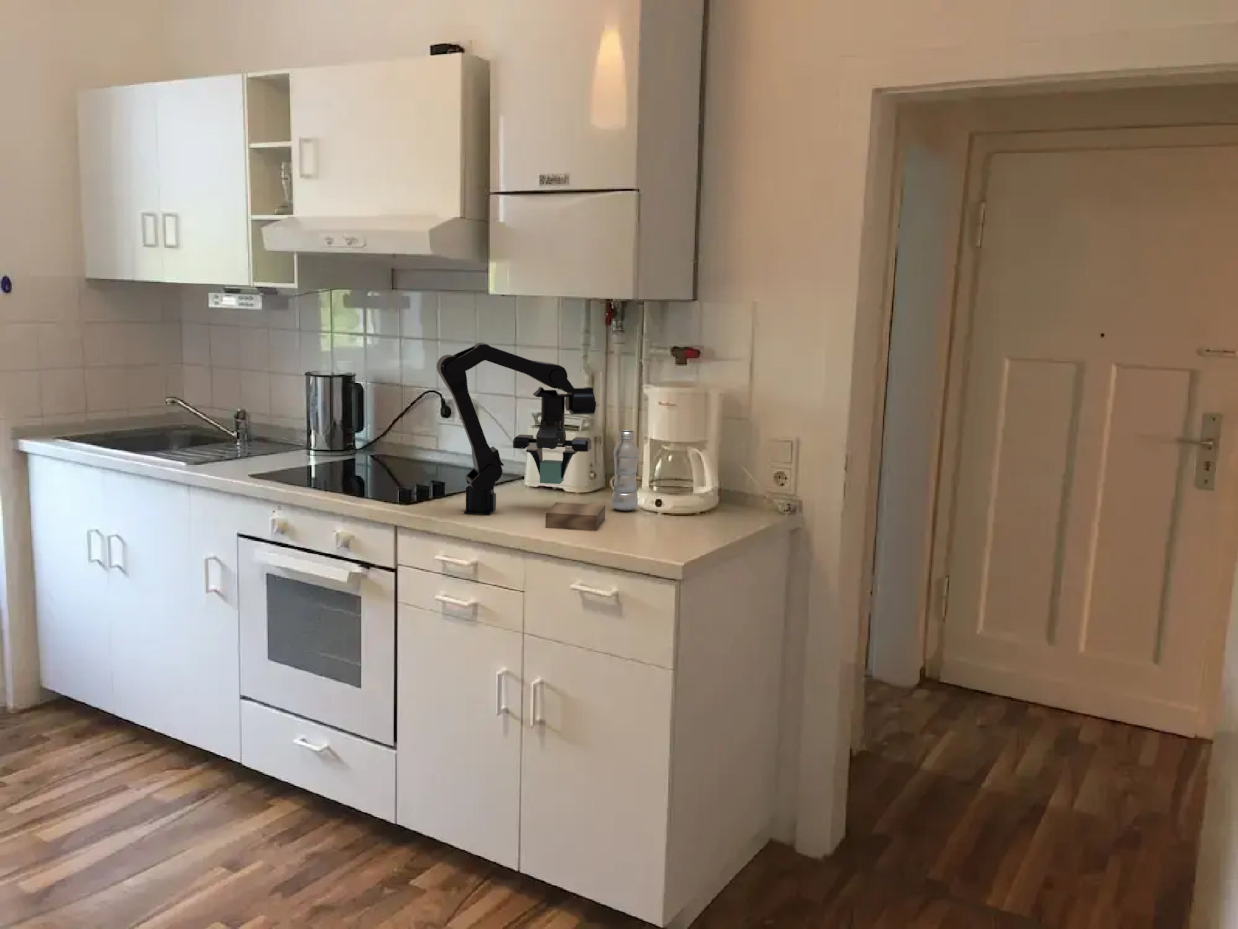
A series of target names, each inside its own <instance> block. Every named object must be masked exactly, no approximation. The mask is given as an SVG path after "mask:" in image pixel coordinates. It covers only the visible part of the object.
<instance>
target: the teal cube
mask: <svg viewBox="0 0 1238 929" xmlns="http://www.w3.org/2000/svg"><path fill="white" fill-rule="evenodd" d="M562 461H563V460H553V459H543V461H542V462H541V463H540V475H539V483H540V484H554V485H561V484H562V483H563V481H564V480H565V477H564V478H561V470H562Z"/></svg>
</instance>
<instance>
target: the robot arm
mask: <svg viewBox="0 0 1238 929" xmlns="http://www.w3.org/2000/svg"><path fill="white" fill-rule="evenodd" d="M484 361H485V362H486V361H487V362H488V363H492V364H496V365H498V366H501V367H504V368H507V369H510V370H513V371H515V372H519V373H521V374H525V375H527V376H529V377H530V378H532V379H533V380H535V381H537V382H539V383H541V384H542V385H545V386H547V387H550V388H552V389H544V387H542V386H539V387H538V388H537V390H535V391H534V392H533V393H532V394H533V396H534V397H535V398H541V403H540V404H541V407H540V408H541V409H540V410H541V411H540V412H541V413H540V414H541V415H540V416H541V418H540V423H539V424H540V425H539V429H538V431H537V433H536V435H535V437H534V435H533V434H518V435H517V436H515V437H514V438H513V440H512V448H513V449H519V450H522V449H523V450H525V449H526V450H525V452H526V453H529V454H530V455H531V456H532V458H533V461H534V463H535V465H536V468H537V472H538V474H539V476H540V463H541V462H542V461H543V460H544V459H543V456H544V455H543V449H548V450H555V449H557V448H564V451H563V452H562V460H561V461H562V470H561V478H564V479H565V475H566V473H567V470H568V466H569V464H570V461H571V460H572V457H573V455H576V454H577V453H578V452H580V453H581V452H582V453H583V452H584V453H586V452H589V451H591V449H592V439H590V438H591V437H580V436H578V437H577V436H576V437H574V438H572V439H567V433H566V429H565V420H566V419H565V413H566V412H568V413H569V414H570V415H572V416H573V415H576V416H577V415H580V416H581V415H595V413H596V409H597V408H596V407H597V402H596V397H595V394H594V387H591V386H585V387H574V386H573V384H572V383H571V382H570V380H569V379H568V373H567V370H566V368H565V367H564V366H562V365H560V364H556V363H553V362H552V363H551V362H546V361H539V360H533V359H532V360H531V359H528V358H525V357H523V356H520V355H517V354H514V353H511V352H508V351H505V350H502V349H499V348H496V347H493V346H491V345H489V343H488V344H487V343H484V342H478V343H476V344H475V345H473V346H471V347H469V348H467V349H464V350H461V351H459V352H456V353H454V354H444V355H442V356H440V358H439V359H438V360H437V363H436V371H437V373H438V374H439V377H440V379H441V380H442V381H443V383H444V384H445V387H446V388H447V390H448V391H449V393H450V394H451V396H452V399H453V402H454V404H455V406H456V410H457V413H458V415H459V418H460V420H461V423H462V425H463V428H464V432H465V433H466V436H467V439H468V442H469V445H470V447H471V457H472V464H473V468H472V469H471V470H470V471H469V472H468V473H467V474H466V475H465V477H464V478H465V481H466V484H467V485H468V486H466V487H465V510H464V511H463V514H469V515H486V516H489V515H491V514H493V513H494V512H495V511H496V510H497V493H496V492H495V485H496V483H497V482H498V481H499V480H500V479H501V477H502V474H503V466H504V465H505V464H504V463H503V462H502V460H501V457H500V453H499V449H497V448H496V447H495V446H491V447H490V446H489V444H488V441H487V438H486V437H485V433H484V430H483V428H482V425H481V422H480V420H479V416H478V414H477V411H476V408H475V406H474V403H473V400H472V398H471V394H470V393H469V388H468V378H467V371H468V370H471V369H472V368H474V367H476V366H478V365H480V363H482V362H484ZM556 389H558V390H560V391H562V392H564V393H558V392H557V390H556ZM565 410H566V412H565Z"/></svg>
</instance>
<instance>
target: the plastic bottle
mask: <svg viewBox="0 0 1238 929" xmlns="http://www.w3.org/2000/svg"><path fill="white" fill-rule="evenodd" d="M635 438H636V437H635V431H634V430H626V429H625V430H619V436H618V439H619V441H618V443H616V445H615V447H614V449H613V461H614V462H613V463H614V473H615V474H614V483H613V484H614V485H613V491H612V495H611V505H612V507H613V509H615V510H618V511H622V512H627V511H633V510H635V509H636V508H637V506H638V502H639V497H638V492H637V472H638V465H639V460H640V450H639V447H638V446H637V444H636V443H635Z"/></svg>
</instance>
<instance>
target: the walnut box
mask: <svg viewBox="0 0 1238 929" xmlns="http://www.w3.org/2000/svg"><path fill="white" fill-rule="evenodd" d="M544 519H545V521H544V522H545V529H557V530H558V529H559V530H560V529H561V530H576V531H589V532H590V531H591V532H592V531H594V532H597V531H598V530H599V529H600V527H601V526H602V524H603V523H604V522H605V520H606V504H592V503H590V504H589V503H575V502H573V503H572V502H555V503H554V504H553V505H552V506H551V507H550V508H549V509H548V510H547V511H546V512H545V518H544Z"/></svg>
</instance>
